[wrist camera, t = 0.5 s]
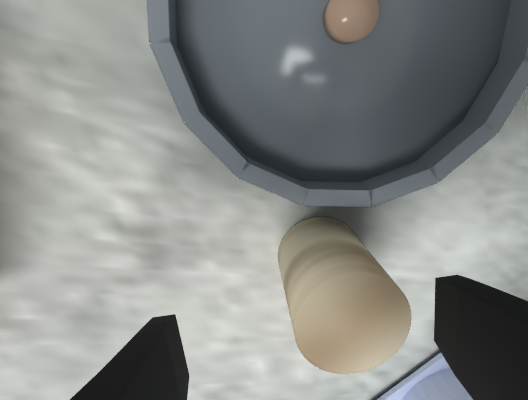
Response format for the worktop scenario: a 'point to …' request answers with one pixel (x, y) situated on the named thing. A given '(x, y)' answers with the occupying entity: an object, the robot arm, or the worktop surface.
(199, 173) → the worktop surface
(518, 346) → the robot arm
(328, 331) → the beige cylinder
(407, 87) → the round tray
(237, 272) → the worktop surface
